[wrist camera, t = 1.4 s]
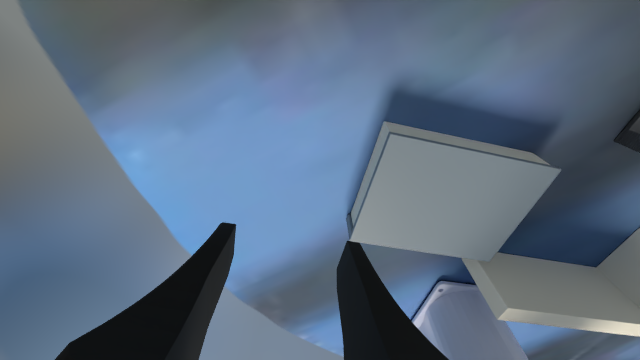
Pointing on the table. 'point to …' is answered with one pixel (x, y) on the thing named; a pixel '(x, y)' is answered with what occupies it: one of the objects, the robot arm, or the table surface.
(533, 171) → the book
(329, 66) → the table surface
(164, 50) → the table surface
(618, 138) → the bookend
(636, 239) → the cream corner tray
